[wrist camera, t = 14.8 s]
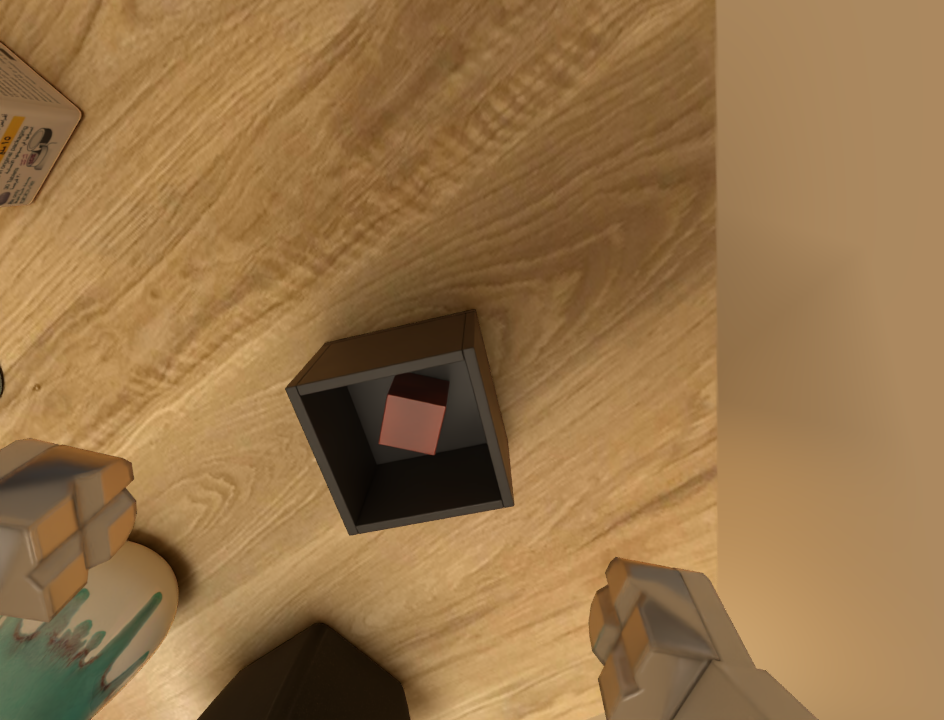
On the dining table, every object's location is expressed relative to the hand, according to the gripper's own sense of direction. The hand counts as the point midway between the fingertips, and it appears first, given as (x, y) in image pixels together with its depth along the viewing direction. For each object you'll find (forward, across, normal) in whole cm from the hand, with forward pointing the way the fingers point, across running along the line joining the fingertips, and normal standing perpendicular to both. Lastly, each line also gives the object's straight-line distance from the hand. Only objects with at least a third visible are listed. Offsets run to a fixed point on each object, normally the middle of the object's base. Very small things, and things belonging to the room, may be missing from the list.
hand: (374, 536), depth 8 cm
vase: (+25, +24, +35) cm, 49 cm away
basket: (+25, +1, +11) cm, 28 cm away
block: (+25, +1, +11) cm, 27 cm away
